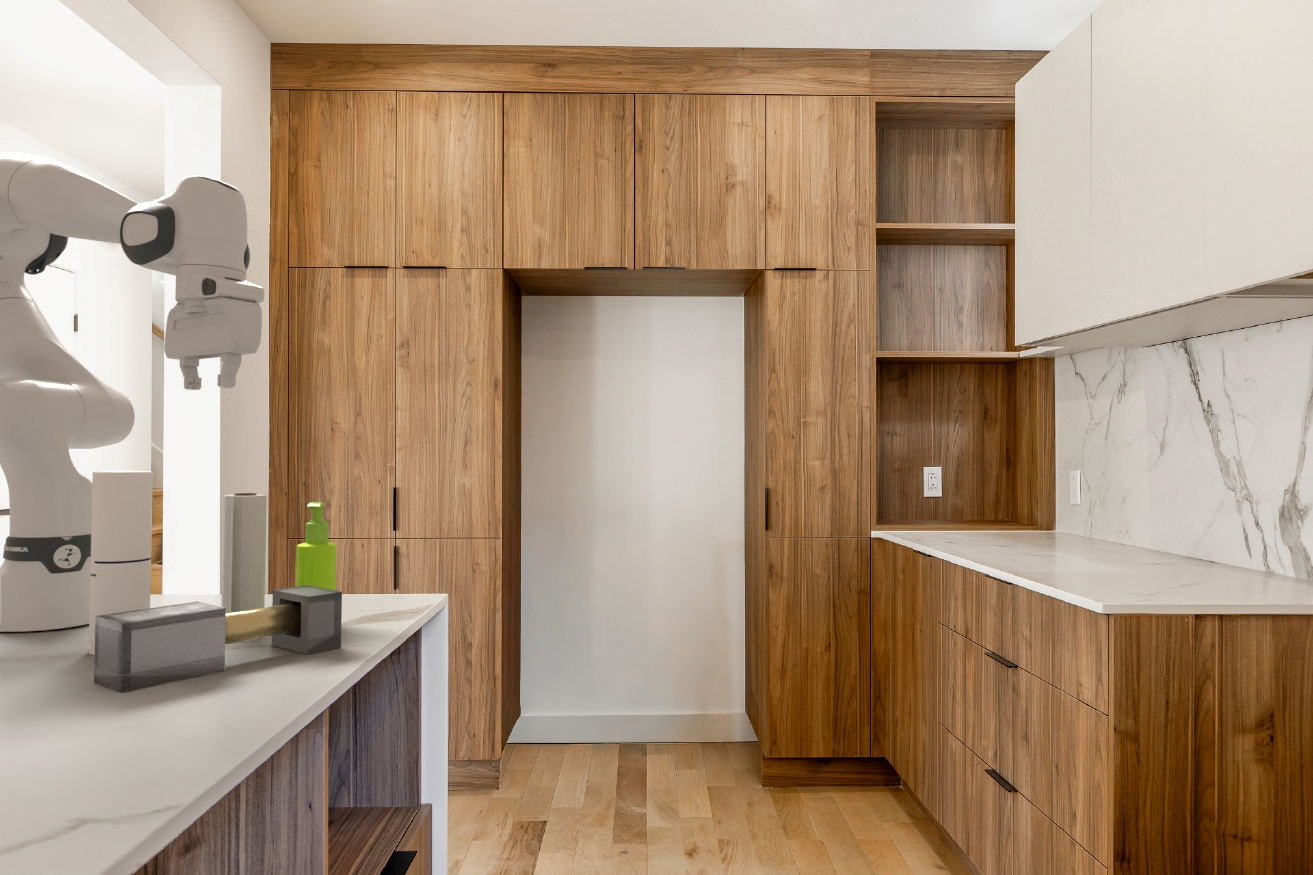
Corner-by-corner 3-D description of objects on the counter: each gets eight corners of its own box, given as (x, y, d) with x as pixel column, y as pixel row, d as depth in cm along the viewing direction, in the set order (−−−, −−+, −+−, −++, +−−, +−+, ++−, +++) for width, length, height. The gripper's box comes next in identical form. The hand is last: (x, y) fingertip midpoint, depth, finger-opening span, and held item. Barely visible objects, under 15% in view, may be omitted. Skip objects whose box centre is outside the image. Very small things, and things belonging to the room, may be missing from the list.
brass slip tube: (199, 655, 103) (200, 619, 103) (181, 650, 106) (182, 614, 106) (315, 633, 116) (315, 601, 116) (296, 629, 119) (297, 597, 119)
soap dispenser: (290, 632, 127) (293, 503, 127) (299, 622, 133) (301, 500, 134) (330, 630, 128) (333, 503, 128) (337, 621, 135) (339, 500, 135)
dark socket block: (307, 654, 113) (308, 596, 113) (271, 645, 118) (272, 589, 118) (340, 647, 117) (341, 591, 117) (304, 638, 122) (305, 585, 122)
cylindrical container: (119, 657, 110) (123, 472, 111) (75, 653, 112) (79, 471, 112) (161, 644, 117) (165, 471, 118) (119, 642, 119) (123, 470, 119)
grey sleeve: (120, 692, 94) (122, 623, 95) (93, 682, 98) (95, 615, 99) (224, 670, 104) (225, 607, 104) (196, 661, 108) (197, 601, 109)
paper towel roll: (247, 625, 131) (250, 492, 132) (272, 629, 128) (275, 493, 129) (205, 633, 125) (207, 494, 125) (230, 638, 122) (233, 495, 122)
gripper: (153, 295, 120) (150, 389, 119) (226, 280, 108) (223, 384, 108) (197, 302, 125) (195, 392, 124) (271, 288, 113) (269, 388, 113)
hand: (209, 388), depth 116 cm, fingers open, 8 cm apart
